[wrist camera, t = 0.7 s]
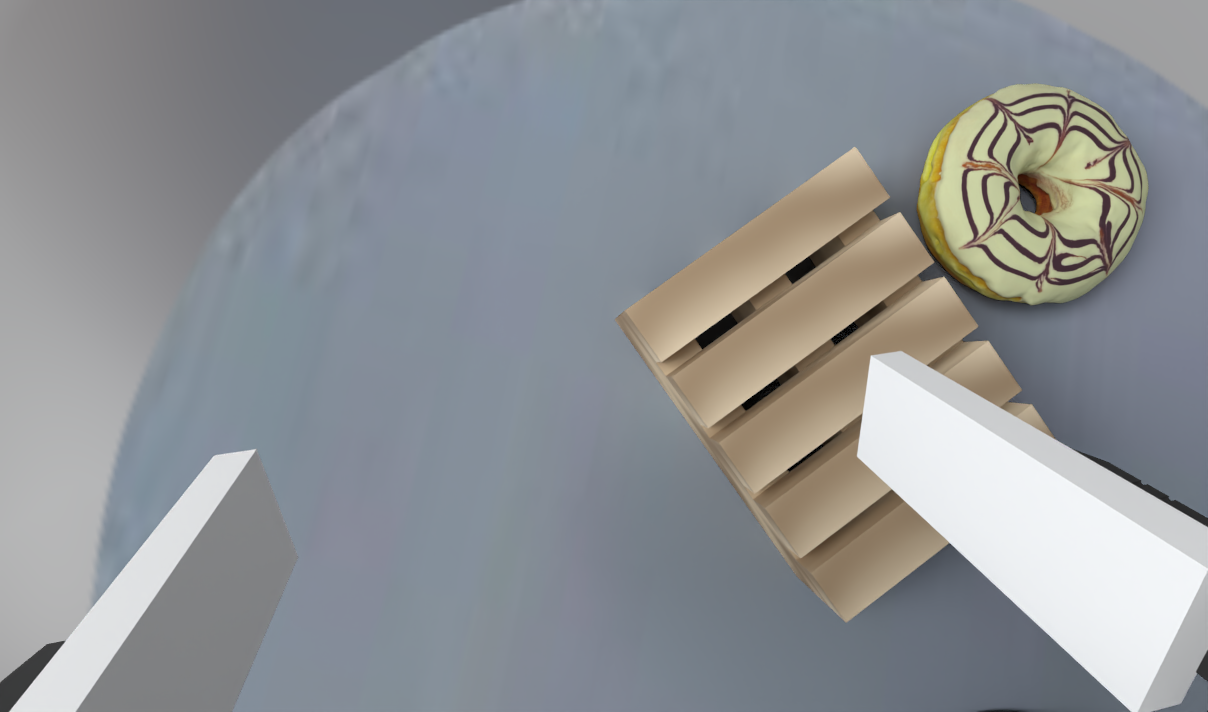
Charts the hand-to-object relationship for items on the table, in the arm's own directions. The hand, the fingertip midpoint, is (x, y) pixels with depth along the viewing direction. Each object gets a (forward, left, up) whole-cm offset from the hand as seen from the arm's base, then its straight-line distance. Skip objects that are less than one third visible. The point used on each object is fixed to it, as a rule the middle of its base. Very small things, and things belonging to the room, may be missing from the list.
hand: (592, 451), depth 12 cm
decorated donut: (-5, -24, -16) cm, 29 cm away
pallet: (-6, -10, -16) cm, 19 cm away
